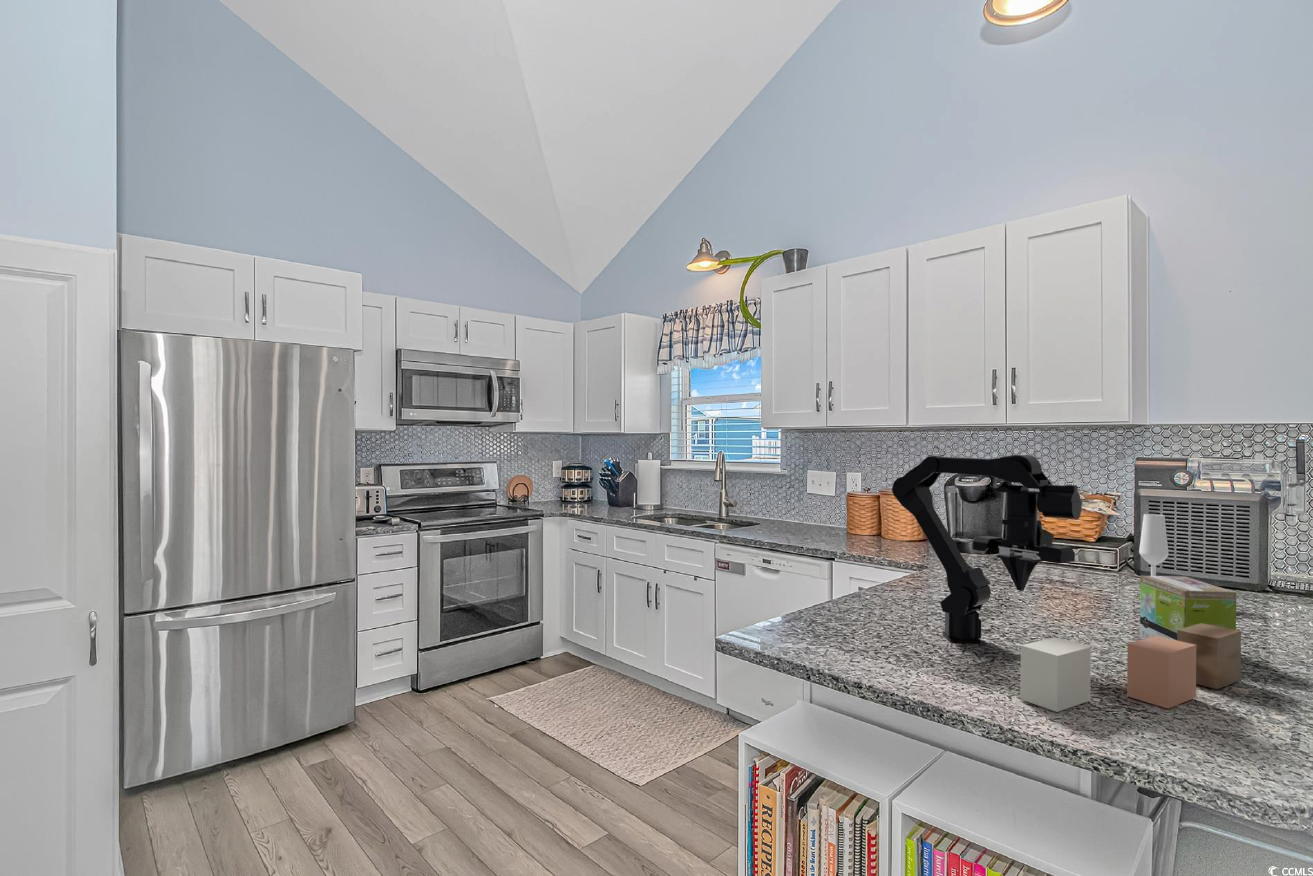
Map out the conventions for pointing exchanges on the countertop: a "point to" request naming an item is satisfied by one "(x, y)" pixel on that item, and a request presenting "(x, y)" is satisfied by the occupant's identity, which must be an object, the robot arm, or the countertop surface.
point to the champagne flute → (1153, 540)
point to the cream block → (1055, 673)
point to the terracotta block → (1161, 671)
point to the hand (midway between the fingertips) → (1020, 590)
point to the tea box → (1182, 605)
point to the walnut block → (1214, 654)
